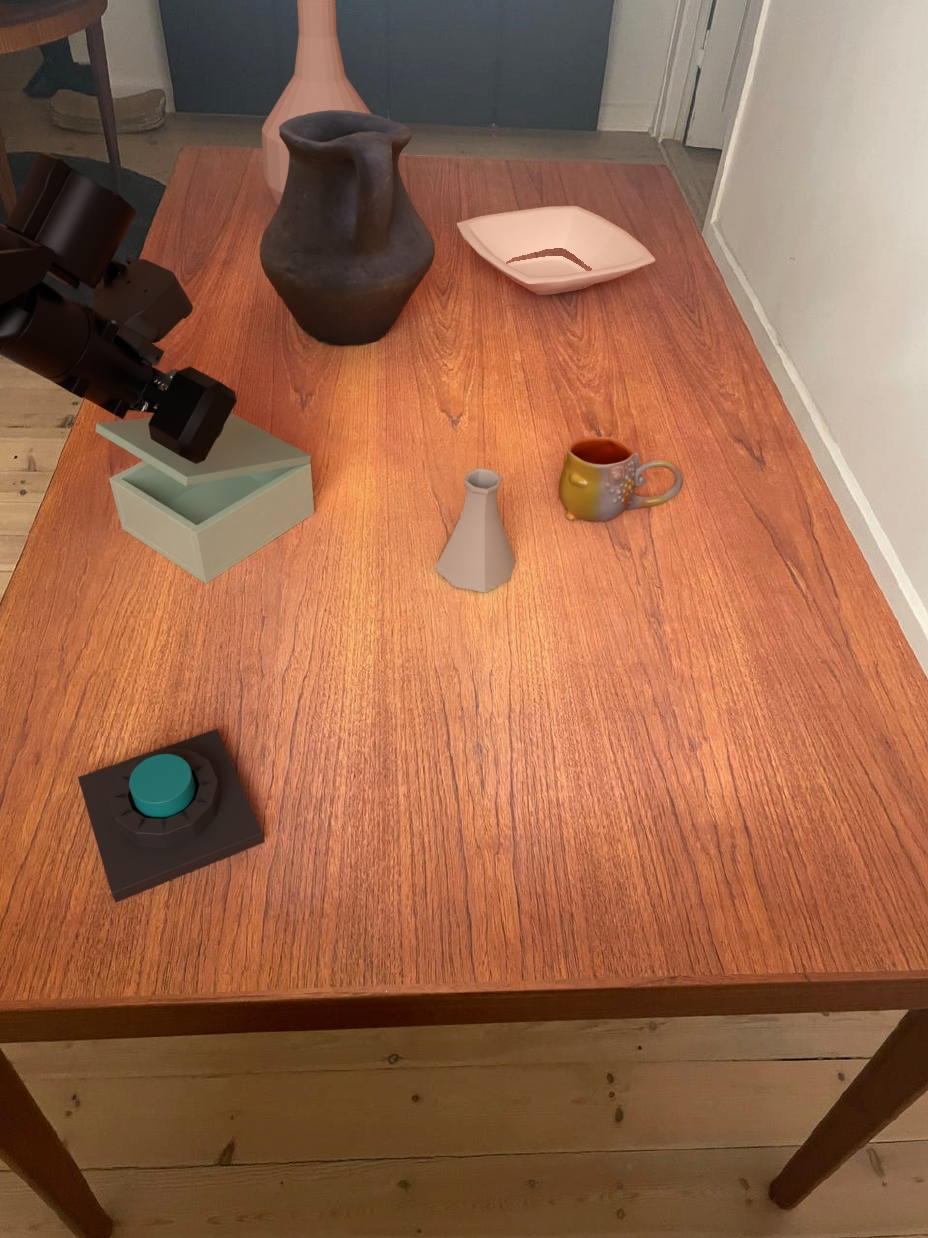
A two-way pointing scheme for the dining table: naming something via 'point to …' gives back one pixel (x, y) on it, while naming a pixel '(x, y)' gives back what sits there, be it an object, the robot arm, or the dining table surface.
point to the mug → (607, 480)
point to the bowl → (552, 229)
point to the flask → (478, 538)
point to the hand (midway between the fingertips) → (199, 420)
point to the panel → (169, 819)
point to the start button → (162, 785)
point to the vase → (308, 86)
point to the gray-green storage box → (211, 514)
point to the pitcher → (345, 227)
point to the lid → (229, 456)
